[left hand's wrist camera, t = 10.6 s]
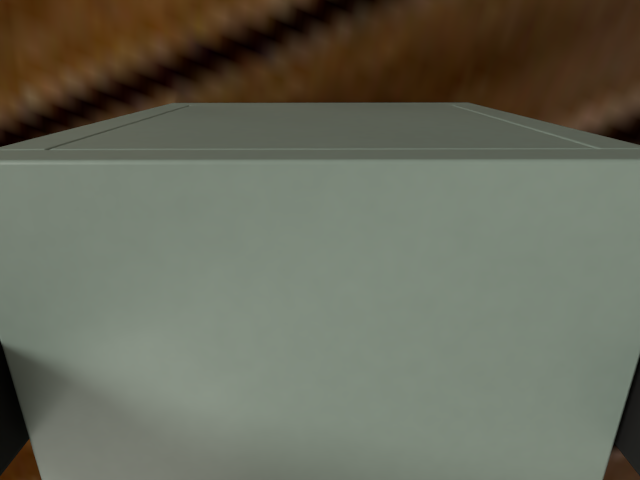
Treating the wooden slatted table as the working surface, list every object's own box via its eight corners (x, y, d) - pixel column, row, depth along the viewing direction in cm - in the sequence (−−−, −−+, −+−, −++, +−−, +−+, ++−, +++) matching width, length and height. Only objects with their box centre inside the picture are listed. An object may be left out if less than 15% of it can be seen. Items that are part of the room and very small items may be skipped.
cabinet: (424, 504, 25) (501, 824, 15) (217, 504, 25) (143, 825, 15) (469, 102, 18) (700, 159, 7) (171, 102, 18) (-56, 160, 7)
